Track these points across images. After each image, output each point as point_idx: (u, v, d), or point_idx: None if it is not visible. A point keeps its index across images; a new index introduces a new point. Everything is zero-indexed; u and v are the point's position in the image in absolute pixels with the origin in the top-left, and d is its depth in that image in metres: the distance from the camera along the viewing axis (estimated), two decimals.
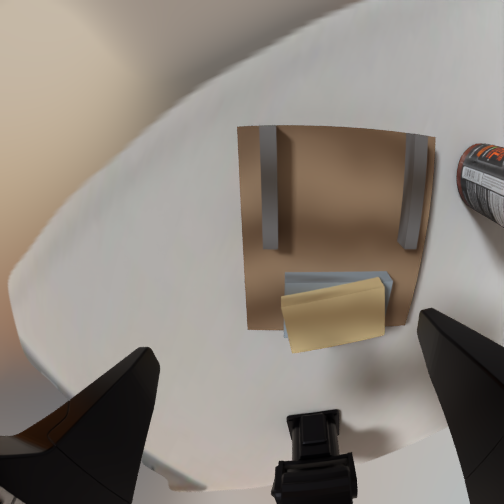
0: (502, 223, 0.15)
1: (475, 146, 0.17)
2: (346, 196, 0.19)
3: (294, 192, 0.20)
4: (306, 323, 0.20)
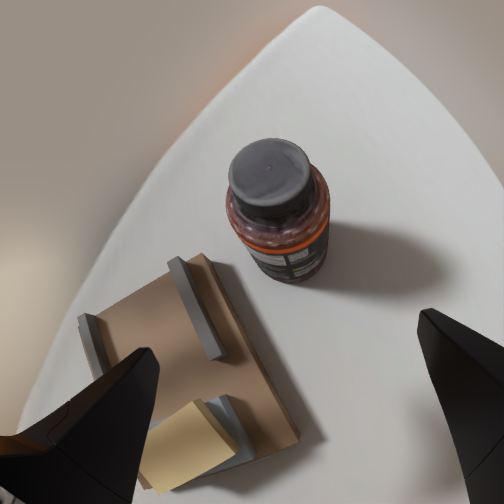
0: (273, 260, 0.17)
1: None
2: (152, 344, 0.21)
3: (119, 358, 0.22)
4: (149, 459, 0.16)
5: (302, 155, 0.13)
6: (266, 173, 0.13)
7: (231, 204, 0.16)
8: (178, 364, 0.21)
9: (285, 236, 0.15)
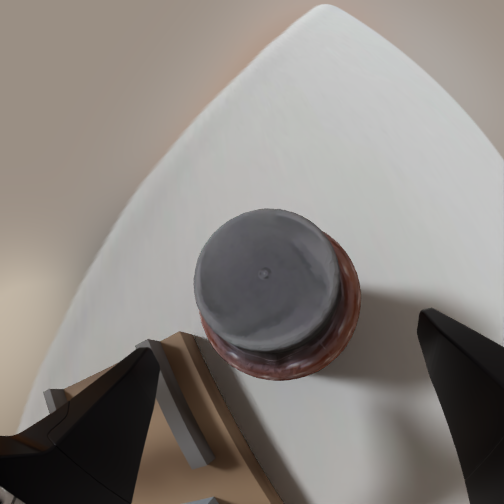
0: None
1: None
2: None
3: None
4: None
5: (325, 249, 0.08)
6: (259, 285, 0.08)
7: None
8: (158, 460, 0.14)
9: (290, 371, 0.09)
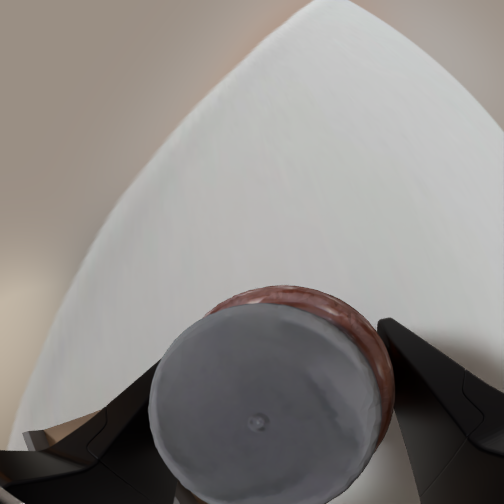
0: None
1: None
2: None
3: None
4: None
5: (364, 384, 0.04)
6: (250, 439, 0.04)
7: None
8: None
9: None
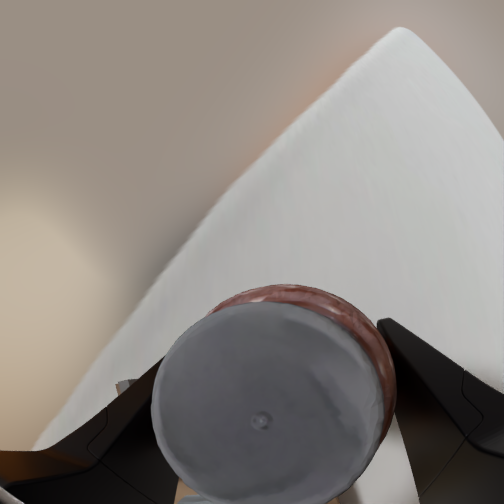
0: None
1: None
2: None
3: None
4: None
5: (367, 383, 0.04)
6: (253, 438, 0.04)
7: None
8: None
9: None
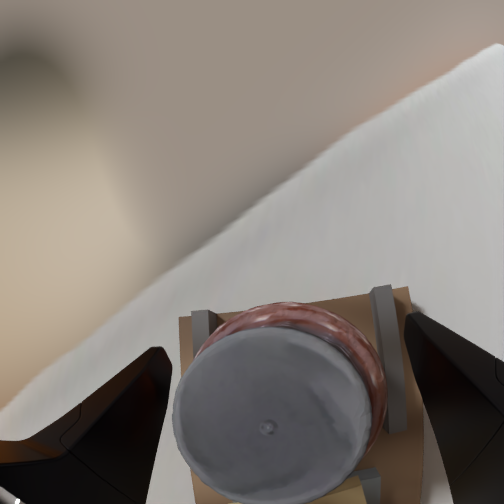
0: None
1: None
2: None
3: None
4: None
5: (357, 396, 0.05)
6: (261, 441, 0.05)
7: None
8: None
9: None
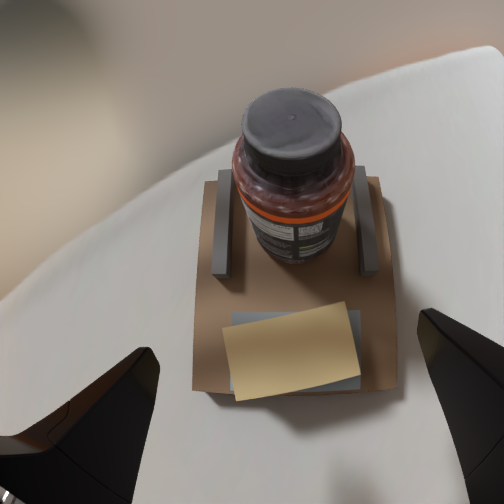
0: (280, 232, 0.15)
1: None
2: None
3: (248, 231, 0.22)
4: (252, 352, 0.16)
5: (333, 109, 0.10)
6: (288, 122, 0.11)
7: (239, 158, 0.13)
8: (319, 264, 0.20)
9: (301, 202, 0.12)
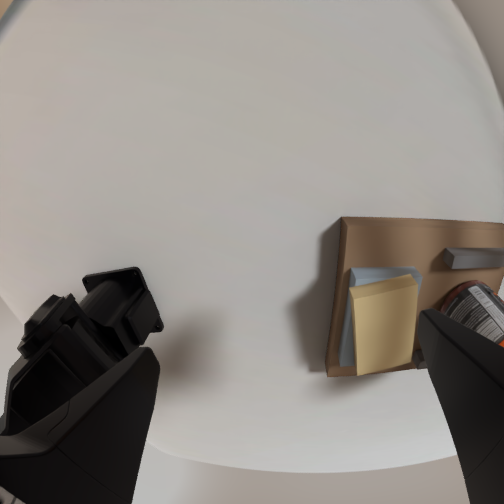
0: None
1: (490, 288, 0.18)
2: None
3: (471, 271, 0.19)
4: (393, 309, 0.17)
5: None
6: None
7: None
8: None
9: None
